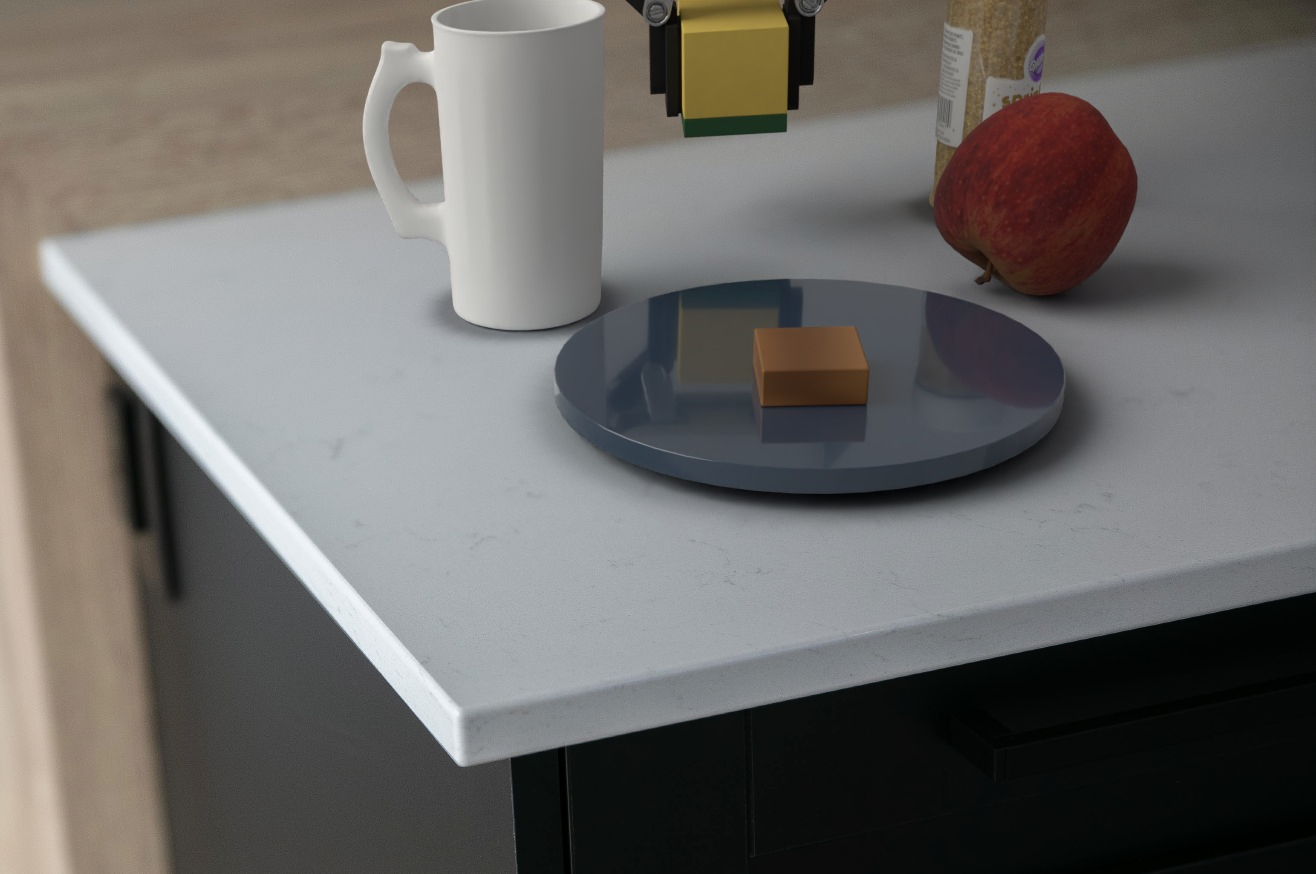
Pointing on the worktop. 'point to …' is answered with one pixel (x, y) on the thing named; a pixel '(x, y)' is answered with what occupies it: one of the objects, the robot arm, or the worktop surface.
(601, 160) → the mug
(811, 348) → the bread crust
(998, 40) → the sprinkles bottle
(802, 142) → the worktop surface
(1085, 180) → the apple
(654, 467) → the plate
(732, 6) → the sponge
